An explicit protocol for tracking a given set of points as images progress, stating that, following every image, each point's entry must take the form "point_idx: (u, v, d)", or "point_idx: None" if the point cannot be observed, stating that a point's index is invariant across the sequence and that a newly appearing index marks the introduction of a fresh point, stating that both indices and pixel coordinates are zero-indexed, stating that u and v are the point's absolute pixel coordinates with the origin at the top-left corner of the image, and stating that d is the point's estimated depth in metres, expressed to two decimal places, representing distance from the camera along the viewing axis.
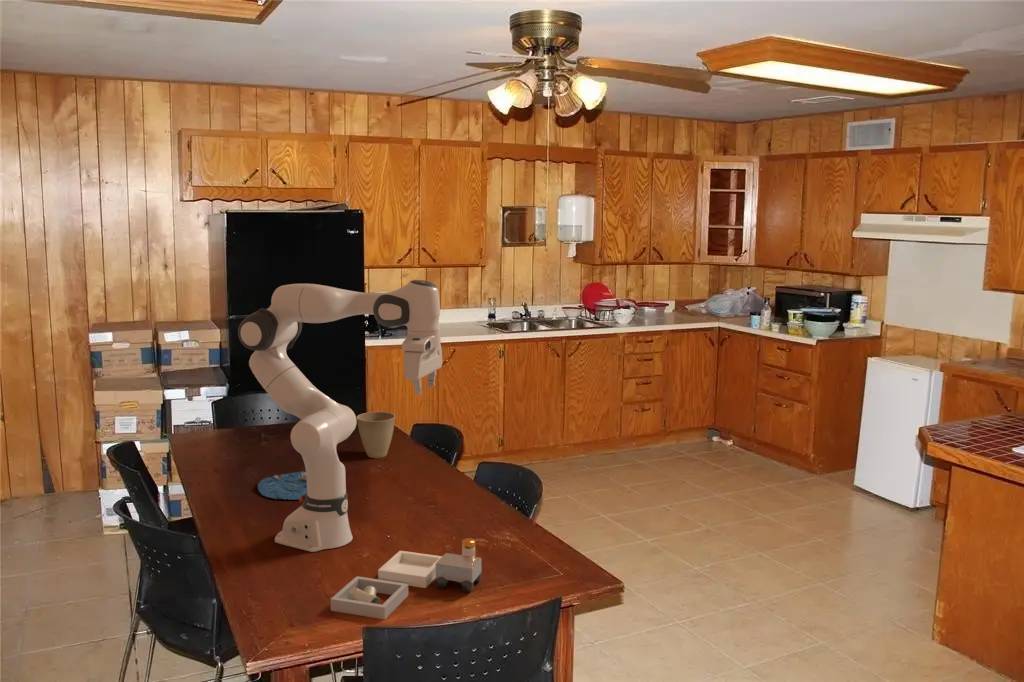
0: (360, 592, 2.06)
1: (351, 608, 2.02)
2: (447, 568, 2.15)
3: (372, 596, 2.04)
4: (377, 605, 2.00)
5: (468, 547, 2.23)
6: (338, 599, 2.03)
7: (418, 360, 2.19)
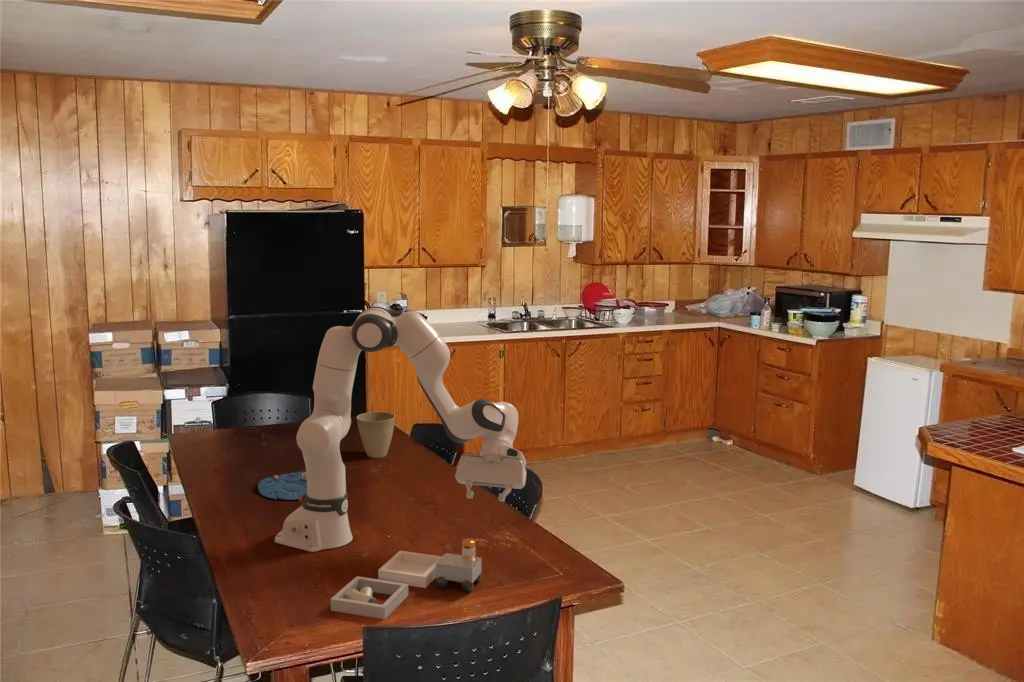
0: (356, 593, 2.06)
1: (351, 608, 2.02)
2: (447, 568, 2.15)
3: (368, 597, 2.03)
4: (377, 605, 2.00)
5: (468, 547, 2.23)
6: (338, 599, 2.03)
7: None
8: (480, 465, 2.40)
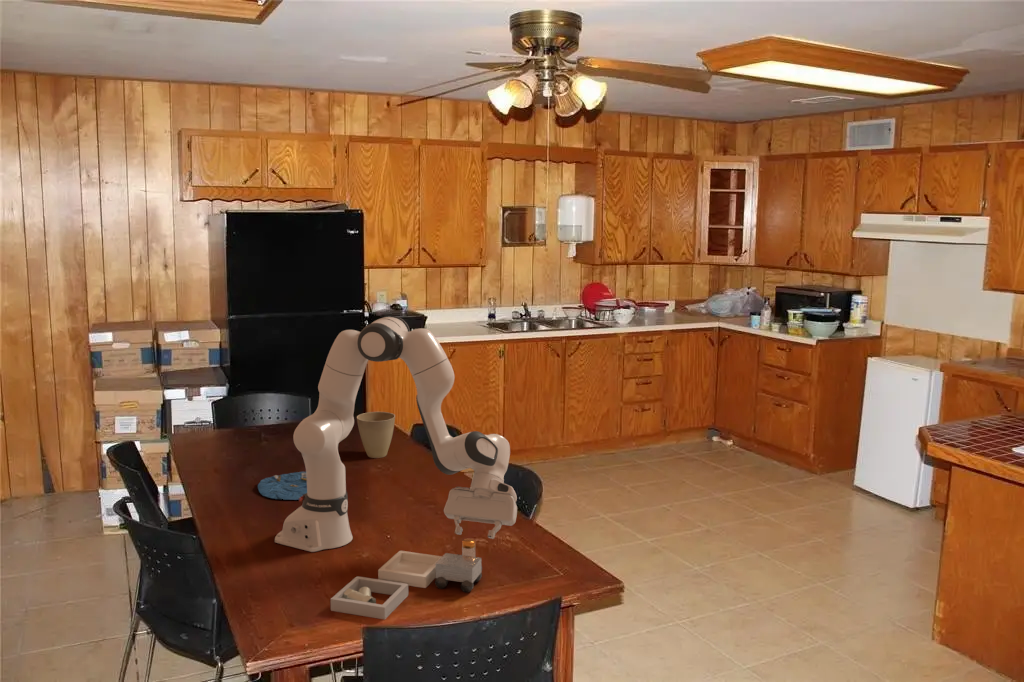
0: (355, 593, 2.06)
1: (351, 608, 2.02)
2: (447, 568, 2.15)
3: (368, 597, 2.03)
4: (377, 605, 2.00)
5: (468, 547, 2.23)
6: (338, 599, 2.03)
7: (516, 508, 2.32)
8: (470, 500, 2.33)
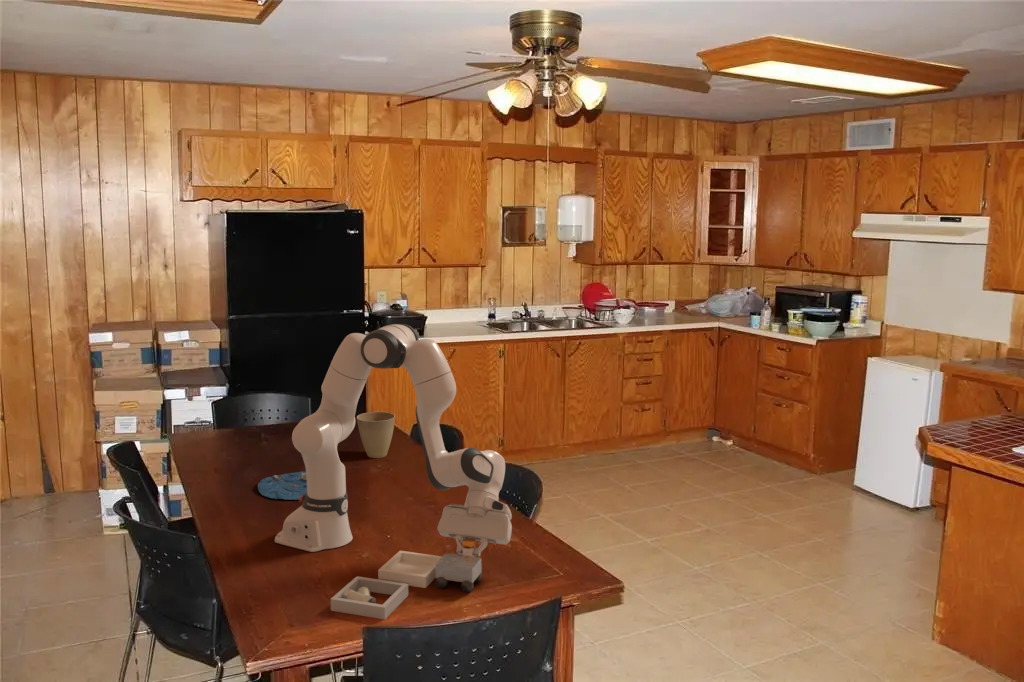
0: (355, 593, 2.05)
1: (351, 608, 2.02)
2: (447, 568, 2.15)
3: (368, 597, 2.03)
4: (377, 605, 2.00)
5: (468, 547, 2.23)
6: (338, 599, 2.03)
7: (511, 527, 2.28)
8: (464, 518, 2.29)
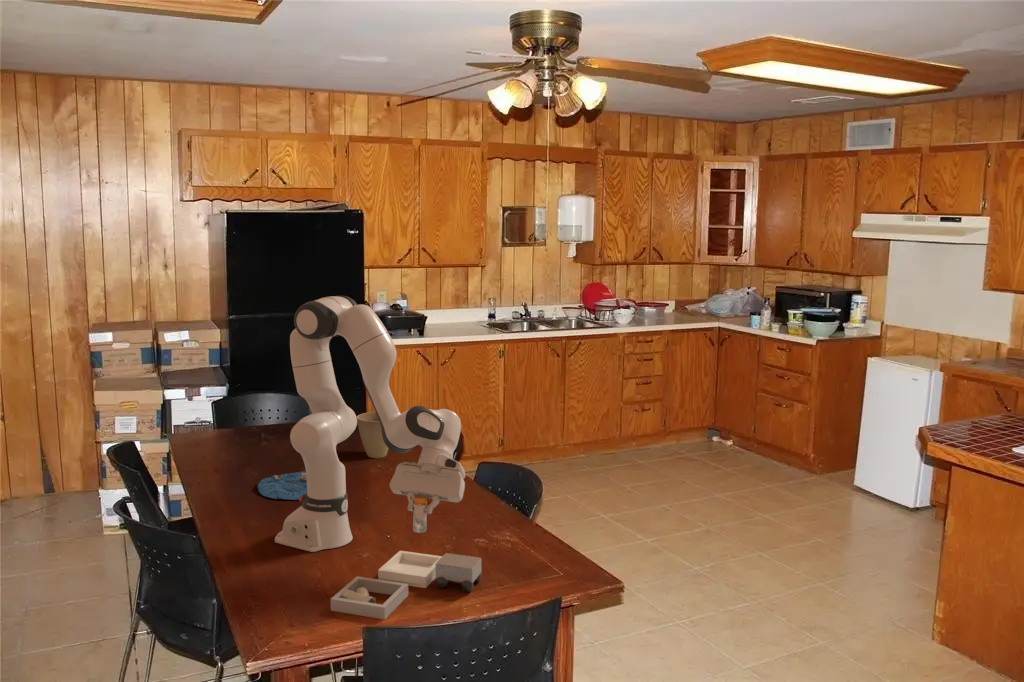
0: (354, 594, 2.05)
1: (351, 608, 2.02)
2: (447, 568, 2.15)
3: (368, 597, 2.03)
4: (377, 605, 2.00)
5: (419, 504, 2.20)
6: (338, 599, 2.03)
7: (464, 485, 2.26)
8: (416, 475, 2.26)
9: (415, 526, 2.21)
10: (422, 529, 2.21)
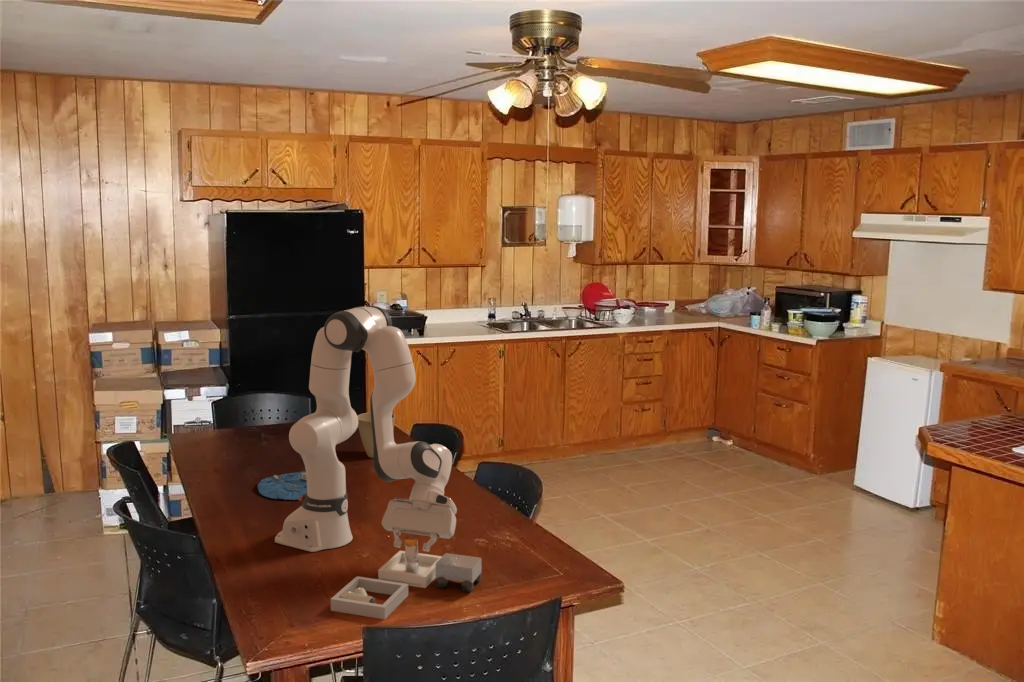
0: (353, 594, 2.05)
1: (351, 608, 2.02)
2: (447, 568, 2.15)
3: (368, 597, 2.03)
4: (377, 605, 2.00)
5: (410, 545, 2.21)
6: (338, 599, 2.03)
7: None
8: (408, 512, 2.28)
9: (407, 567, 2.23)
10: (414, 570, 2.23)
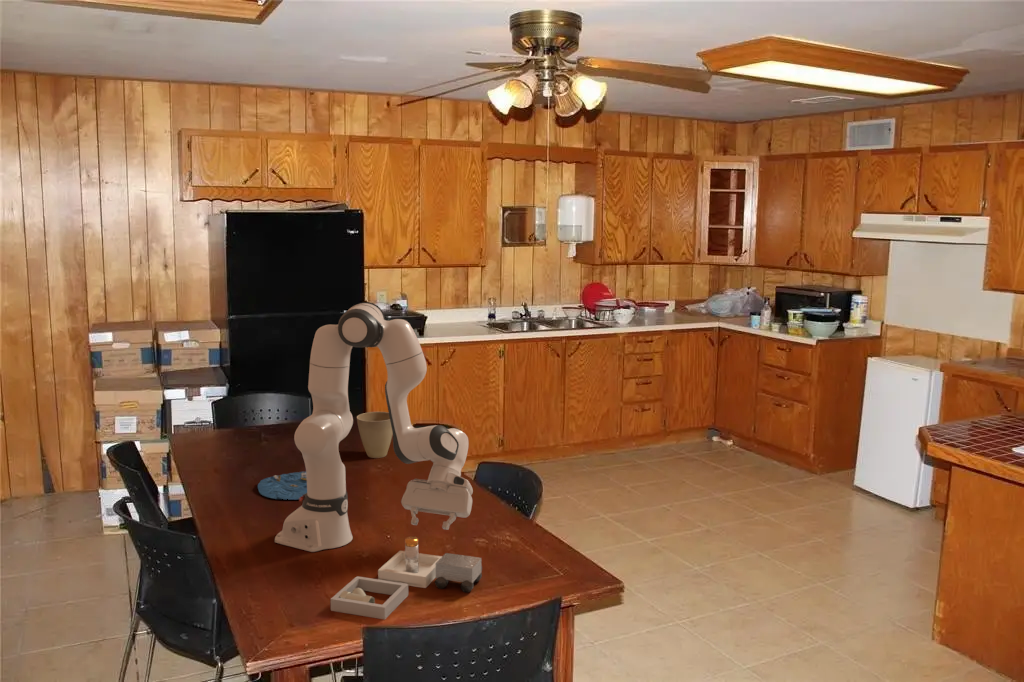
0: (352, 595, 2.05)
1: (351, 608, 2.02)
2: (447, 568, 2.15)
3: (368, 597, 2.03)
4: (377, 605, 2.00)
5: (411, 545, 2.21)
6: (338, 599, 2.03)
7: None
8: (426, 492, 2.40)
9: (407, 567, 2.23)
10: (414, 570, 2.23)
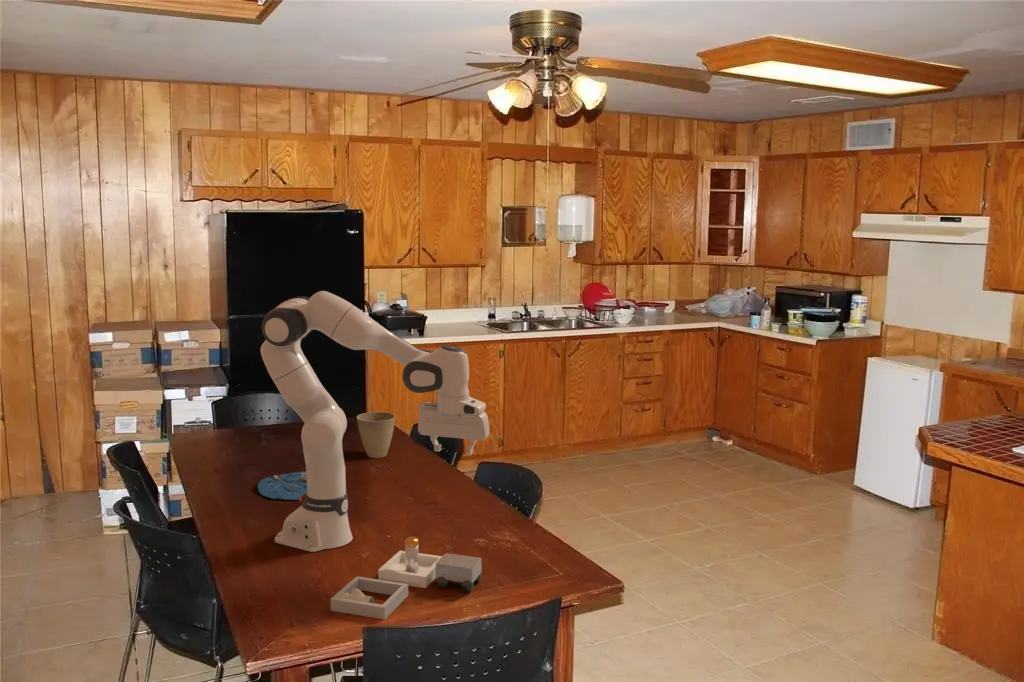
0: (352, 595, 2.04)
1: (351, 608, 2.02)
2: (447, 568, 2.15)
3: (368, 597, 2.03)
4: (377, 605, 2.00)
5: (411, 545, 2.21)
6: (338, 599, 2.03)
7: (487, 418, 2.32)
8: (440, 420, 2.33)
9: (407, 567, 2.23)
10: (414, 570, 2.23)
